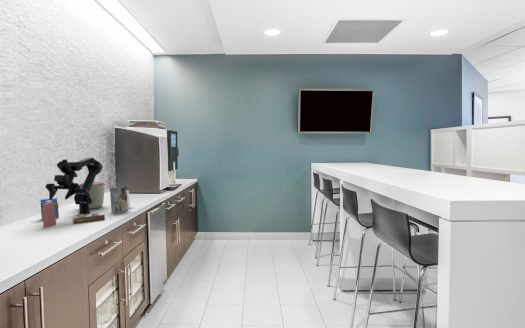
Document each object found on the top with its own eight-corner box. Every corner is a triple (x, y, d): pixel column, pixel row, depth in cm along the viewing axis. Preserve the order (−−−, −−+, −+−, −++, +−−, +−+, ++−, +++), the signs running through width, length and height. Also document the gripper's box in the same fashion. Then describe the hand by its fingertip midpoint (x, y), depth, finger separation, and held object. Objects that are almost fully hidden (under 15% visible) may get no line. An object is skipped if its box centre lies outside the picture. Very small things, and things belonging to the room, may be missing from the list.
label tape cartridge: (59, 216, 211) (58, 197, 210) (58, 218, 208) (57, 198, 207) (42, 218, 207) (41, 198, 207) (41, 219, 204) (40, 199, 203)
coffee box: (119, 210, 229) (118, 186, 228) (128, 210, 227) (126, 186, 226) (110, 213, 220) (109, 188, 219) (119, 213, 218) (118, 188, 217)
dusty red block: (50, 224, 190) (49, 202, 190) (55, 224, 190) (54, 202, 189) (43, 226, 184) (42, 204, 184) (48, 226, 184) (47, 204, 183)
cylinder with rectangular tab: (132, 206, 242) (132, 190, 241) (123, 209, 233) (123, 191, 232) (122, 206, 244) (122, 189, 244) (113, 208, 236) (112, 191, 235)
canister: (106, 204, 254) (105, 176, 253) (106, 208, 237) (105, 178, 236) (79, 207, 246) (77, 178, 245) (77, 211, 230) (76, 180, 228)
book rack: (72, 220, 199) (72, 214, 199) (102, 216, 208) (101, 211, 208) (73, 223, 190) (73, 218, 190) (104, 219, 198) (104, 214, 198)
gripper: (46, 170, 199) (34, 191, 188) (77, 169, 198) (66, 190, 188) (55, 181, 207) (44, 202, 197) (85, 181, 206) (75, 202, 196)
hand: (57, 199), depth 194 cm, fingers open, 9 cm apart
